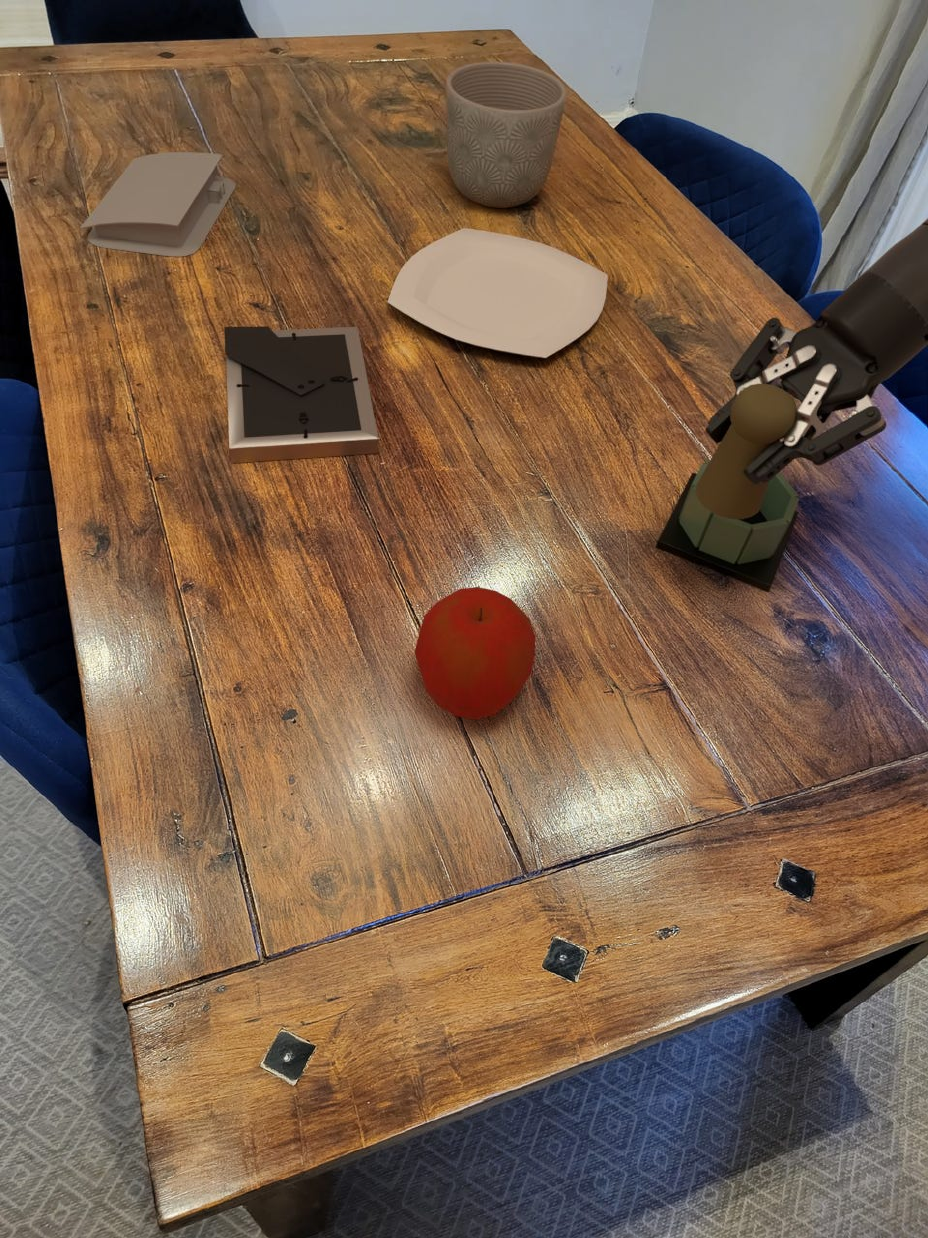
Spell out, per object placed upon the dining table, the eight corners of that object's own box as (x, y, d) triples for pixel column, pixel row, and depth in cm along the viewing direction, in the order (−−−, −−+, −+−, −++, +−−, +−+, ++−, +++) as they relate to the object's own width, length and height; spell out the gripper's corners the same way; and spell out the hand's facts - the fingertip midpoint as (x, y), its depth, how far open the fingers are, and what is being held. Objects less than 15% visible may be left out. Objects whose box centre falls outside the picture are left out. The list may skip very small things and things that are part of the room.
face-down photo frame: (227, 347, 106) (231, 463, 93) (224, 326, 103) (228, 443, 91) (358, 341, 108) (378, 453, 96) (357, 320, 106) (378, 433, 94)
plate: (454, 227, 127) (455, 214, 125) (628, 284, 121) (631, 270, 119) (360, 318, 111) (359, 304, 110) (554, 387, 105) (557, 374, 104)
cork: (697, 515, 77) (736, 415, 68) (693, 468, 81) (729, 368, 72) (766, 523, 77) (813, 424, 68) (758, 476, 81) (802, 377, 72)
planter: (417, 186, 134) (421, 76, 122) (497, 157, 141) (507, 51, 130) (494, 233, 127) (506, 122, 115) (573, 200, 134) (592, 93, 123)
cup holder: (795, 518, 94) (817, 477, 90) (768, 592, 88) (789, 552, 83) (690, 478, 97) (706, 436, 92) (655, 547, 90) (670, 505, 86)
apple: (517, 747, 75) (536, 670, 65) (402, 724, 75) (404, 645, 66) (532, 653, 81) (551, 570, 72) (425, 632, 81) (431, 548, 72)
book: (240, 179, 131) (236, 152, 128) (192, 259, 117) (187, 231, 114) (139, 166, 131) (133, 138, 128) (79, 244, 117) (71, 216, 114)
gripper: (828, 231, 69) (664, 389, 75) (960, 331, 62) (766, 499, 67) (852, 280, 75) (698, 423, 81) (975, 378, 67) (795, 528, 73)
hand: (730, 457), depth 74 cm, fingers closed on cork, 5 cm apart
